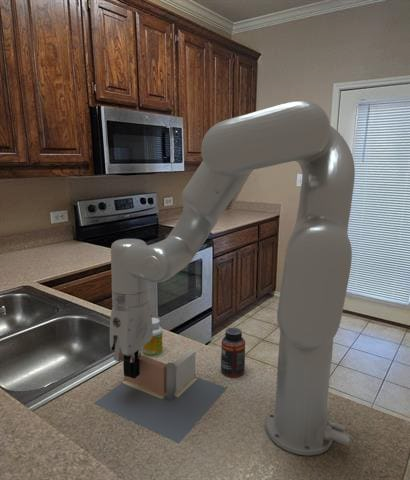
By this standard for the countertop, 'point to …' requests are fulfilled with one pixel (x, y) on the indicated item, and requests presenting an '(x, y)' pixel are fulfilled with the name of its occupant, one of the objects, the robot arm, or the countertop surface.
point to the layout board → (166, 400)
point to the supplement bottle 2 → (233, 353)
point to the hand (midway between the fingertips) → (131, 375)
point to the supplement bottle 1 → (154, 341)
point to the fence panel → (151, 375)
